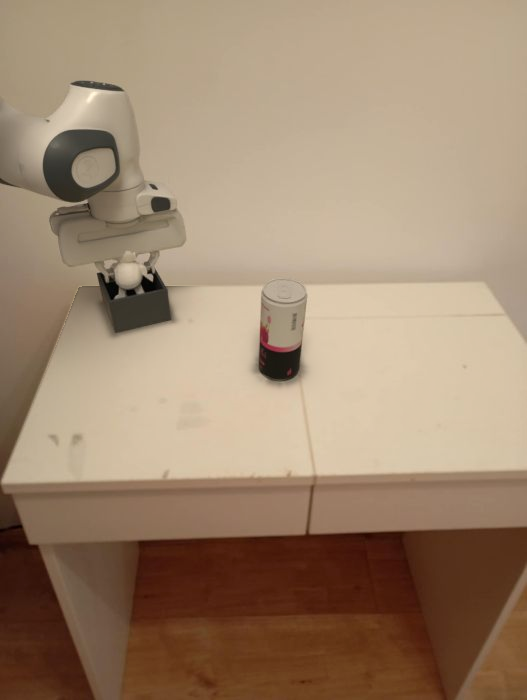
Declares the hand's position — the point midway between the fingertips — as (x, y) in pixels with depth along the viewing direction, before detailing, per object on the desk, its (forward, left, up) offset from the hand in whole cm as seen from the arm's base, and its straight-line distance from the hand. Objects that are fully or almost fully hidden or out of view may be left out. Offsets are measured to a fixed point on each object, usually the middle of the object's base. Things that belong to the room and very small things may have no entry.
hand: (130, 276), depth 82 cm
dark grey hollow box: (0, 0, -7) cm, 7 cm away
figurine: (0, 0, -5) cm, 5 cm away
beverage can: (+17, -24, -8) cm, 31 cm away
